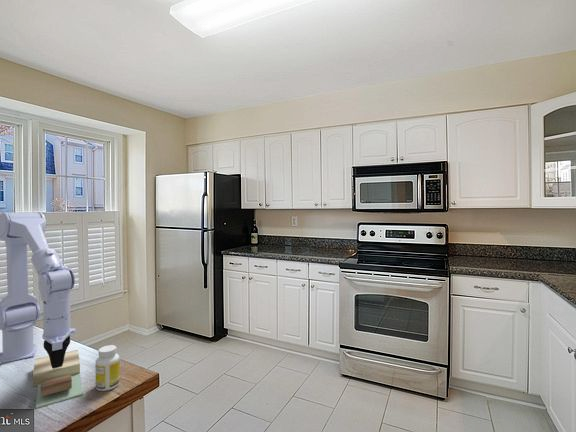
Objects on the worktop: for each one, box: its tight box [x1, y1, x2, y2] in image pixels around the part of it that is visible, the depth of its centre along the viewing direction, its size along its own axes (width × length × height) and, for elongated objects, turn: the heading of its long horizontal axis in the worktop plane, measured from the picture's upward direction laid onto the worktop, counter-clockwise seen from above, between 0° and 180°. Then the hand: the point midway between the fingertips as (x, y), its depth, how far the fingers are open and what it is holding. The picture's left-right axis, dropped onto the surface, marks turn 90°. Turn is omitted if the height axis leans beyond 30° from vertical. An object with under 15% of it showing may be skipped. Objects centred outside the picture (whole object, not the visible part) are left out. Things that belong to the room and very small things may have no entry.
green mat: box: [35, 373, 84, 409], centre depth 79 cm, size 11×9×1 cm
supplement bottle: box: [95, 344, 121, 392], centre depth 81 cm, size 5×5×10 cm
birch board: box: [32, 349, 81, 387], centre depth 87 cm, size 10×10×3 cm
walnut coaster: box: [41, 375, 72, 396], centre depth 78 cm, size 6×6×2 cm
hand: (57, 366), depth 83 cm, fingers closed
